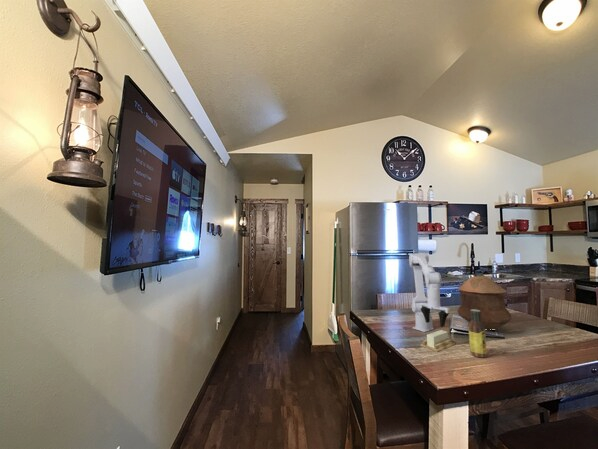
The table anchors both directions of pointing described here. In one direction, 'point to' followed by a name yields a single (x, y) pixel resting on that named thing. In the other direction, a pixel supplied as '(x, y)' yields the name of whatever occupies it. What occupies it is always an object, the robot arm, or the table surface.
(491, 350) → the table surface
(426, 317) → the robot arm
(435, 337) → the cream rectangular block
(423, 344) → the tan flat piece
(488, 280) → the pottery vessel
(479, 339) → the sauce bottle
